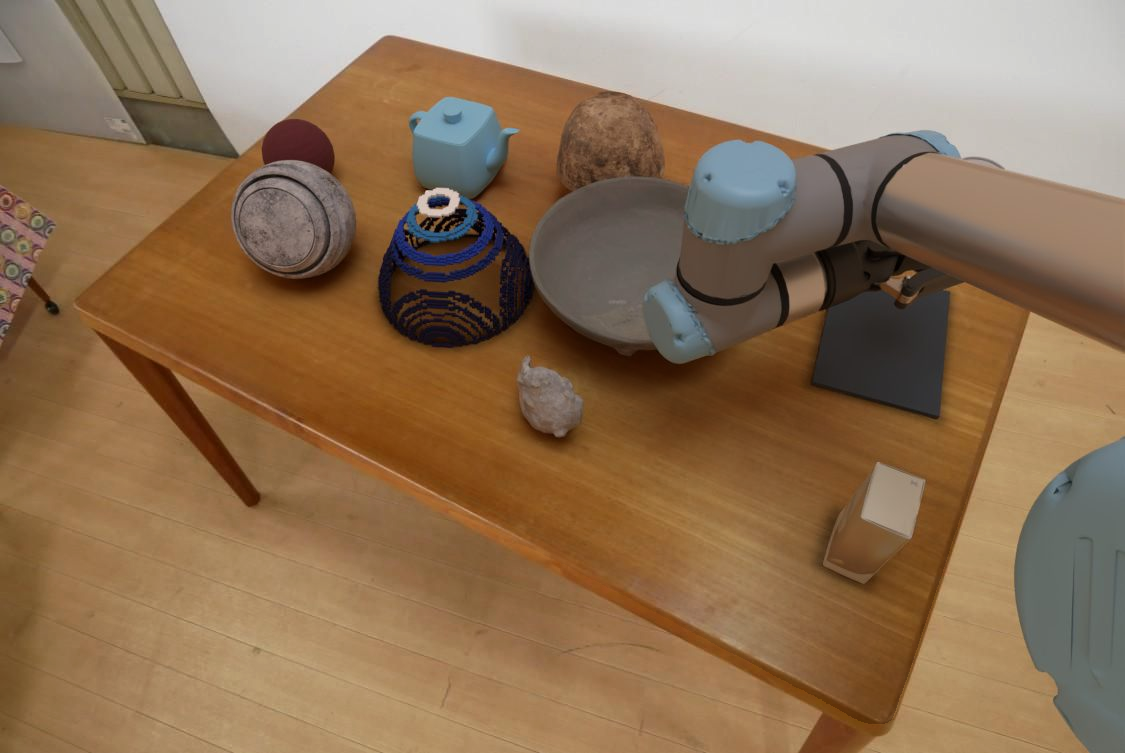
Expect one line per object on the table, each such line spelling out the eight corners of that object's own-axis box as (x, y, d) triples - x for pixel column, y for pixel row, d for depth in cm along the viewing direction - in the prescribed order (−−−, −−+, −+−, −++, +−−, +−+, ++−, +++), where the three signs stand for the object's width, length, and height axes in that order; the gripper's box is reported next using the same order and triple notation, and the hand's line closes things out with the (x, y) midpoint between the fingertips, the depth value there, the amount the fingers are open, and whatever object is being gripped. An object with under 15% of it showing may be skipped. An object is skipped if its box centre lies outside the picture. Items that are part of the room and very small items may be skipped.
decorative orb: (244, 296, 92) (192, 207, 80) (281, 222, 100) (239, 132, 88) (352, 303, 91) (315, 214, 79) (381, 227, 99) (352, 136, 87)
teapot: (506, 219, 99) (498, 151, 90) (399, 188, 104) (380, 121, 95) (542, 168, 106) (538, 100, 97) (440, 141, 110) (426, 74, 101)
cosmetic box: (837, 514, 72) (877, 456, 62) (880, 532, 70) (928, 476, 60) (819, 568, 68) (859, 516, 58) (864, 588, 67) (912, 539, 57)
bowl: (725, 232, 96) (738, 173, 88) (754, 388, 81) (772, 334, 73) (537, 235, 97) (532, 177, 89) (530, 390, 82) (524, 337, 74)
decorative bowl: (523, 351, 85) (512, 268, 74) (365, 342, 87) (330, 259, 75) (541, 238, 97) (535, 151, 85) (401, 232, 98) (376, 145, 87)
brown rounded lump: (666, 167, 105) (676, 74, 93) (655, 238, 96) (665, 146, 84) (568, 157, 107) (566, 66, 95) (548, 226, 98) (543, 135, 86)
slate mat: (937, 419, 78) (939, 416, 77) (811, 384, 81) (812, 381, 81) (948, 294, 89) (950, 291, 88) (836, 268, 92) (837, 265, 91)
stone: (598, 410, 80) (599, 357, 72) (575, 457, 76) (574, 408, 68) (525, 384, 82) (519, 331, 74) (499, 429, 79) (490, 378, 71)
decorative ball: (353, 187, 105) (333, 129, 96) (290, 213, 101) (264, 156, 93) (327, 154, 109) (306, 96, 101) (266, 178, 106) (240, 120, 98)
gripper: (741, 241, 73) (918, 178, 78) (854, 371, 63) (1049, 289, 68) (755, 183, 67) (947, 119, 72) (883, 317, 57) (1095, 232, 62)
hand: (996, 202), depth 70 cm, fingers closed on beverage can, 6 cm apart
